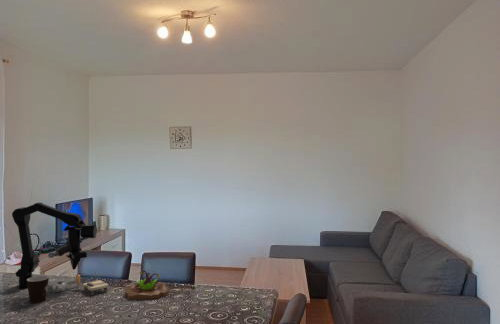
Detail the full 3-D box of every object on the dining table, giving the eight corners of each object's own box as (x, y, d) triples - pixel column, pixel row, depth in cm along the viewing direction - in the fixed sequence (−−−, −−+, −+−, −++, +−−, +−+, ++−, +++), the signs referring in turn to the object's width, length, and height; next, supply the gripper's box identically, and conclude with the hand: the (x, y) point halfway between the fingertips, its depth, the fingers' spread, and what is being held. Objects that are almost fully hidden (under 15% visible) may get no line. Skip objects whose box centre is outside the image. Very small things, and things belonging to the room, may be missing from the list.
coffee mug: (38, 305, 159) (38, 282, 159) (21, 303, 160) (22, 280, 161) (57, 295, 170) (58, 274, 170) (41, 294, 172) (42, 273, 172)
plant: (125, 289, 180) (125, 266, 180) (165, 284, 187) (165, 262, 187) (124, 303, 161) (124, 278, 162) (169, 298, 168) (169, 273, 168)
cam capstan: (55, 293, 172) (55, 281, 172) (51, 290, 177) (51, 278, 177) (82, 286, 181) (82, 275, 181) (77, 284, 185) (77, 273, 185)
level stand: (69, 290, 177) (69, 280, 177) (95, 284, 186) (95, 275, 186) (80, 298, 166) (80, 287, 166) (108, 291, 175) (108, 281, 175)
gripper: (51, 238, 188) (50, 268, 187) (63, 243, 174) (63, 276, 174) (73, 235, 195) (73, 264, 195) (87, 240, 182) (87, 271, 182)
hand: (74, 269), depth 187 cm, fingers closed
